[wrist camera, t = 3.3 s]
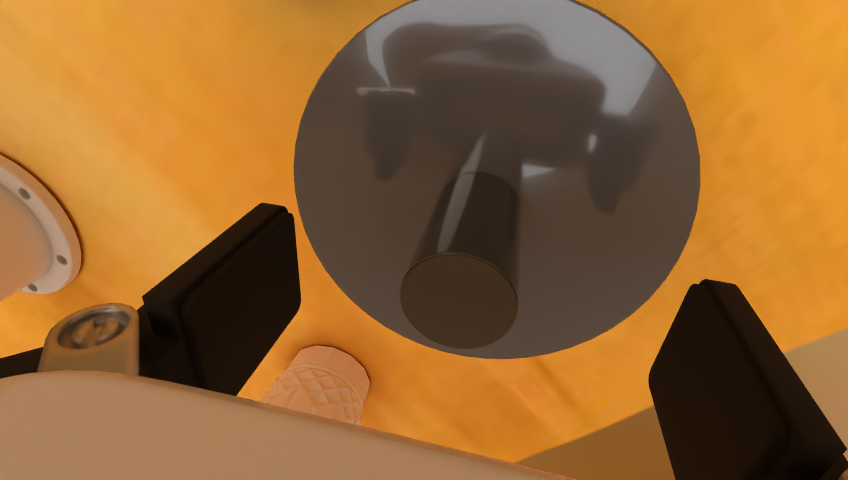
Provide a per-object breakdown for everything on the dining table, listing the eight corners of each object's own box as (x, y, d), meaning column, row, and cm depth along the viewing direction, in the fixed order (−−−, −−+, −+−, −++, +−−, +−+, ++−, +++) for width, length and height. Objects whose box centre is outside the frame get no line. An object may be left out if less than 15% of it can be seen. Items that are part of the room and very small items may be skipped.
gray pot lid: (272, 250, 19) (172, 353, 13) (381, -106, 12) (263, -181, 7) (543, 384, 19) (548, 533, 14) (794, 117, 12) (989, 212, 7)
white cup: (344, 328, 33) (281, 445, 25) (395, 400, 36) (353, 528, 27) (267, 351, 36) (187, 463, 28) (319, 415, 39) (261, 535, 30)
